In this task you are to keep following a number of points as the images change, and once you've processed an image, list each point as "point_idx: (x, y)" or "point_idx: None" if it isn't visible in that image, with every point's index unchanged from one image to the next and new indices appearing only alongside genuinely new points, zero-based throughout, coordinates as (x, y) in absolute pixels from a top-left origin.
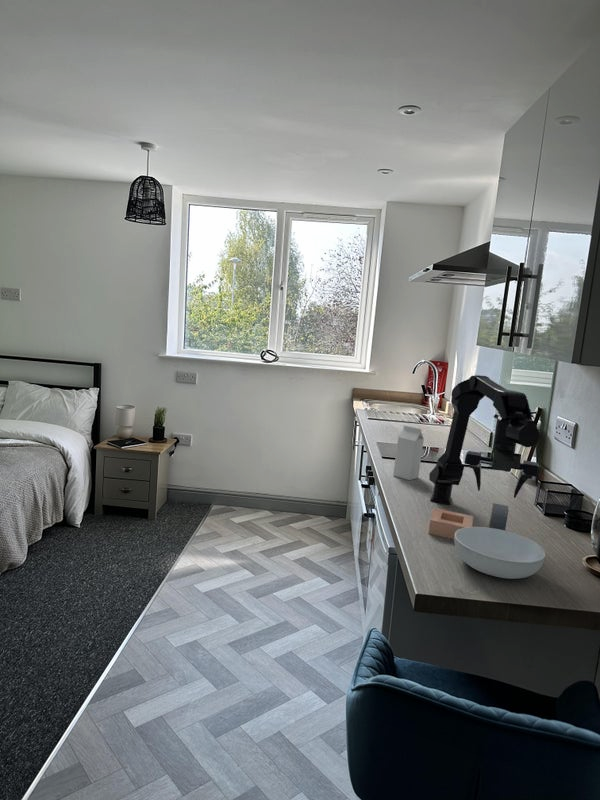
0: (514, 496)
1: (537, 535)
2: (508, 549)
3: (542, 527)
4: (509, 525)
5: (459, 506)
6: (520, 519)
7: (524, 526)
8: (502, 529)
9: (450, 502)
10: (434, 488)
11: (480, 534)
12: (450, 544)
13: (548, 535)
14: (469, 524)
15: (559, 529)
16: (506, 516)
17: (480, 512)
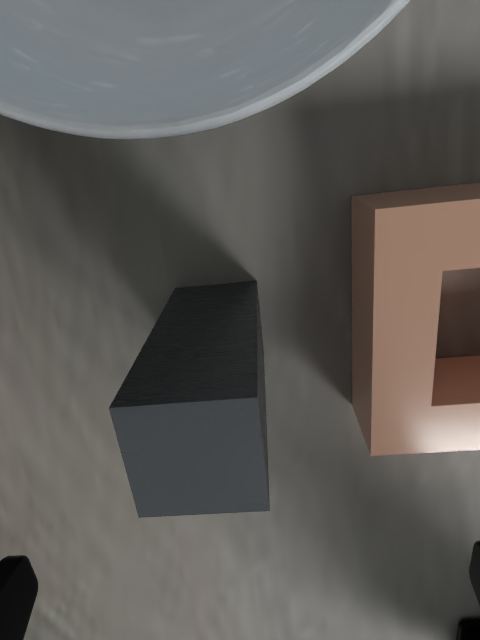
0: (7, 568)
1: (63, 516)
2: (91, 69)
3: (68, 603)
4: (188, 552)
5: (415, 627)
6: (160, 631)
7: (131, 575)
8: (172, 323)
9: (462, 638)
10: None
11: (306, 45)
12: (471, 72)
13: (26, 542)
14: (393, 290)
15: None
16: (135, 374)
17: (322, 615)
